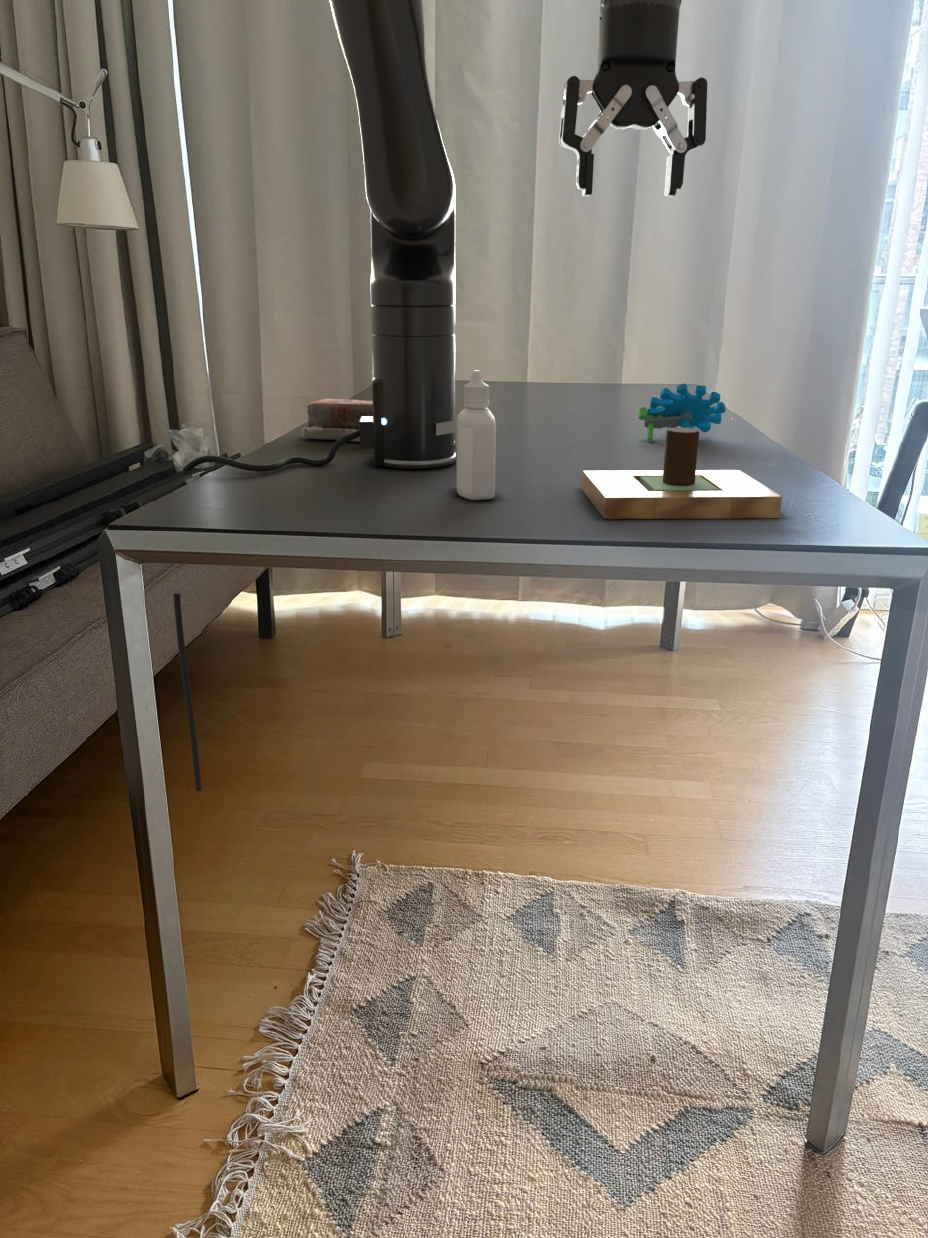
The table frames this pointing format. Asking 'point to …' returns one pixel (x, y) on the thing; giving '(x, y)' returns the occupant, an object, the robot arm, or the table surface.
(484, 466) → the eye dropper bottle
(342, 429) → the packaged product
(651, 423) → the gear
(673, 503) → the wooden board
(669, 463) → the peg on green base
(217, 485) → the table surface
